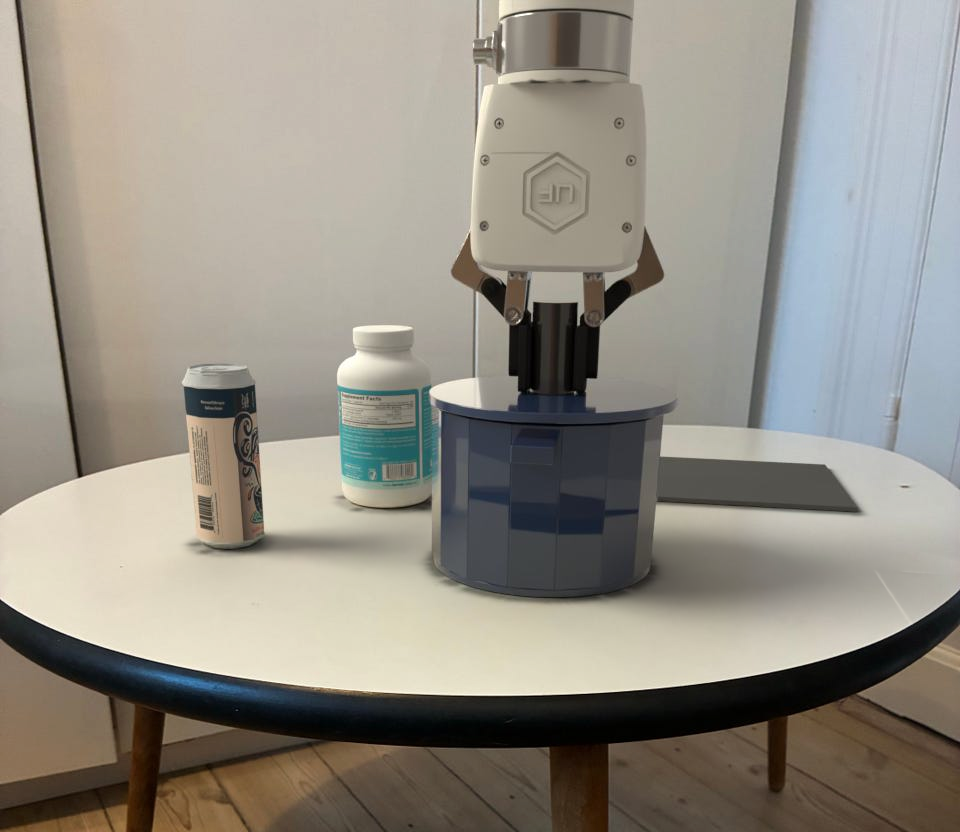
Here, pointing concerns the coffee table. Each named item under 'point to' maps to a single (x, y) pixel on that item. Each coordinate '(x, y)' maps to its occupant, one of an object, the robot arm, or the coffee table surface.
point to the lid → (553, 384)
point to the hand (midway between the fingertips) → (552, 386)
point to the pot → (544, 504)
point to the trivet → (751, 484)
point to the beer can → (224, 454)
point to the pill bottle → (385, 420)
